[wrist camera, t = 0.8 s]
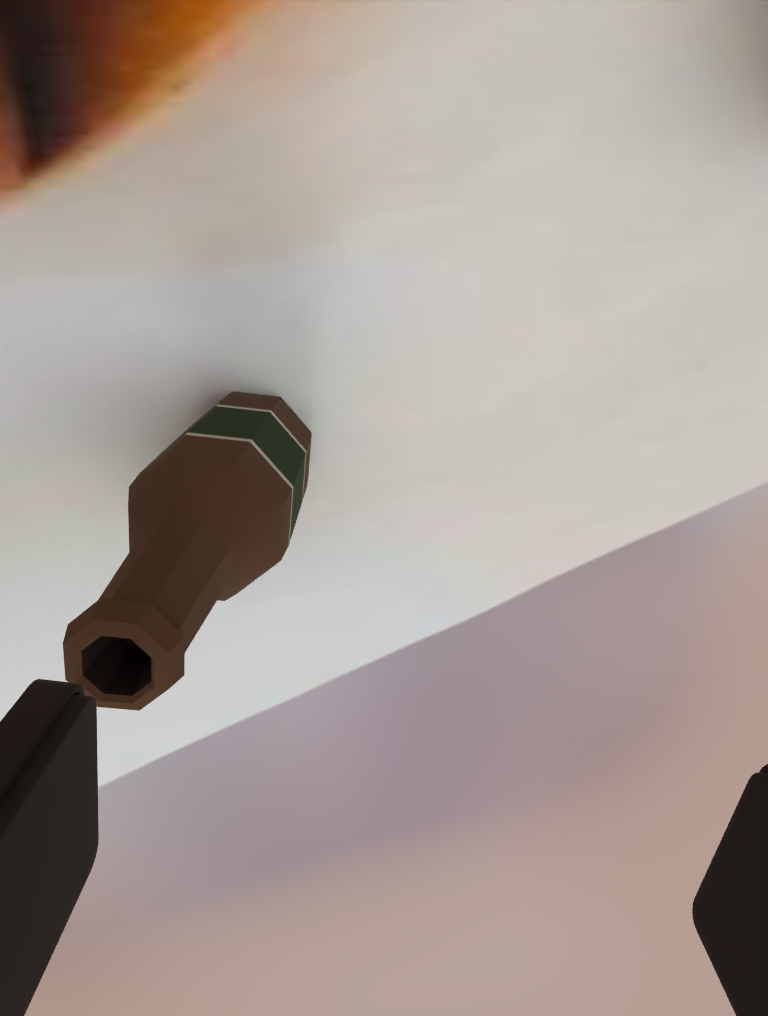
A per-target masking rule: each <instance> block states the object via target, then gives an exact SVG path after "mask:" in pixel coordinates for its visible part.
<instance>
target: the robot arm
mask: <svg viewBox="0 0 768 1016" xmlns="http://www.w3.org/2000/svg"><path fill="white" fill-rule="evenodd" d="M97 848H98V778H97V713H96V700H95V698H94V697H92V696H85V695H84V689H83V686H82V685H81V684H77V683H68V682H60V681H51V680H42V679H38V680H35V681H33V682H32V683H31V684H30V685H29V686H28V688H27V689H26V690H25V692H24V693H23V694H22V695H21V697H20V698H19V699H18V700H17V702H16V703H15V704H14V705H13V707H12V708H11V709H10V710H9V712H8V713H7V714H6V715H5V717H4V718H3V719H2V720H1V722H0V1016H24V1015H25V1013H26V1010H27V1008H28V1006H29V1004H30V1002H31V999H32V997H33V995H34V993H35V991H36V989H37V987H38V984H39V982H40V980H41V978H42V976H43V973H44V971H45V969H46V967H47V965H48V963H49V960H50V958H51V956H52V954H53V952H54V949H55V947H56V945H57V943H58V941H59V939H60V937H61V934H62V932H63V930H64V928H65V926H66V923H67V921H68V919H69V917H70V915H71V913H72V910H73V908H74V906H75V904H76V902H77V900H78V897H79V895H80V893H81V891H82V889H83V887H84V884H85V882H86V880H87V878H88V876H89V874H90V871H91V869H92V866H93V863H94V860H95V857H96V853H97ZM692 910H693V920H694V924H695V927H696V929H697V932H698V934H699V937H700V939H701V941H702V943H703V945H704V947H705V949H706V951H707V954H708V956H709V958H710V960H711V962H712V964H713V966H714V969H715V971H716V973H717V975H718V977H719V979H720V982H721V984H722V986H723V988H724V990H725V992H726V994H727V997H728V998H729V1001H730V1003H731V1005H732V1007H733V1009H734V1012H735V1014H736V1016H768V764H767V765H765V766H764V767H762V769H761V770H760V772H759V773H755V774H753V775H752V776H751V778H750V779H749V781H748V783H747V785H746V788H745V790H744V792H743V794H742V796H741V798H740V801H739V803H738V805H737V807H736V809H735V811H734V814H733V816H732V818H731V820H730V822H729V824H728V827H727V829H726V831H725V833H724V836H723V837H722V840H721V842H720V844H719V846H718V848H717V851H716V853H715V855H714V857H713V859H712V861H711V864H710V866H709V868H708V870H707V873H706V875H705V877H704V879H703V881H702V883H701V885H700V888H699V890H698V892H697V894H696V897H695V899H694V902H693V909H692Z"/></svg>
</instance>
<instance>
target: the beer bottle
mask: <svg viewBox="0 0 768 1016" xmlns="http://www.w3.org/2000/svg"><path fill="white" fill-rule="evenodd" d="M310 446H311V432H310V431H309V430H308V428H307V427H306V426H305V425H304V424H303V423H302V421H301V420H300V419H299V418H298V417H297V415H296V414H295V413H294V412H293V411H292V410H291V408H290V407H289V406H288V405H287V404H286V403H285V401H284V400H283V399H282V398H281V397H275V396H266V395H257V394H248V393H240V392H232V393H231V394H229V395H227V396H226V397H225V398H224V399H223V400H221V401H220V402H219V403H218V404H217V405H215V406H214V407H213V408H212V409H211V410H210V411H208V412H207V413H206V414H205V415H204V416H202V417H201V418H200V419H199V420H198V421H197V422H195V423H194V424H193V425H192V426H191V427H189V428H188V429H187V430H186V431H185V432H184V433H183V434H182V435H181V436H180V437H179V438H177V439H176V440H175V441H174V442H173V443H172V444H171V445H170V446H169V447H168V448H167V449H165V450H164V451H163V452H162V453H161V454H160V455H159V456H158V457H157V458H156V459H155V460H154V461H152V462H151V463H150V464H149V465H148V466H147V467H146V468H145V469H144V470H143V471H142V472H140V474H139V475H138V476H137V477H136V479H135V480H134V481H133V483H132V484H131V485H130V487H129V501H128V512H129V549H130V552H129V554H128V555H127V557H126V559H125V560H124V562H123V563H122V565H121V566H120V568H119V569H118V571H117V572H116V574H115V575H114V577H113V578H112V580H111V581H110V583H109V584H108V586H107V588H106V589H105V591H104V592H103V594H102V595H101V597H100V598H99V600H98V601H97V602H95V603H94V604H93V605H92V606H90V607H89V608H88V609H87V610H85V611H84V612H83V613H82V614H80V615H79V616H78V617H77V618H75V619H74V620H73V621H72V622H70V623H69V624H68V626H67V630H66V634H65V638H64V642H63V650H64V664H65V678H66V680H67V681H68V682H69V683H77V684H81V685H82V686H83V689H84V695H85V696H92V697H94V698H95V700H96V706H97V707H107V708H118V709H129V710H141V709H142V708H143V707H145V706H146V705H147V704H149V703H150V702H152V701H153V700H154V699H156V698H157V697H158V696H160V695H161V694H162V693H164V692H165V691H167V690H168V689H169V688H170V687H171V686H173V685H174V684H175V683H176V682H177V681H178V680H179V679H180V678H181V677H183V676H184V653H185V651H186V650H187V648H188V646H189V645H190V643H191V642H192V640H193V638H194V637H195V635H196V633H197V632H198V630H199V629H200V627H201V625H202V624H203V622H204V620H205V619H206V617H207V616H208V614H209V612H210V611H211V609H212V607H213V606H214V604H215V602H216V601H217V600H221V601H225V600H227V599H228V598H230V597H232V596H234V595H236V594H237V593H238V592H240V591H241V590H242V589H244V588H245V587H246V586H248V585H249V584H250V583H252V582H253V581H254V580H256V579H257V578H258V577H260V576H261V575H262V574H264V573H265V572H266V571H268V570H269V569H270V568H272V567H273V566H274V565H276V564H277V563H278V562H280V561H281V559H282V557H283V555H284V553H285V552H286V550H287V548H288V546H289V543H290V539H291V536H292V533H293V530H294V526H295V523H296V520H297V517H298V513H299V510H300V507H301V504H302V500H303V497H304V494H305V491H306V487H307V481H308V472H309V459H310Z"/></svg>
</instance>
